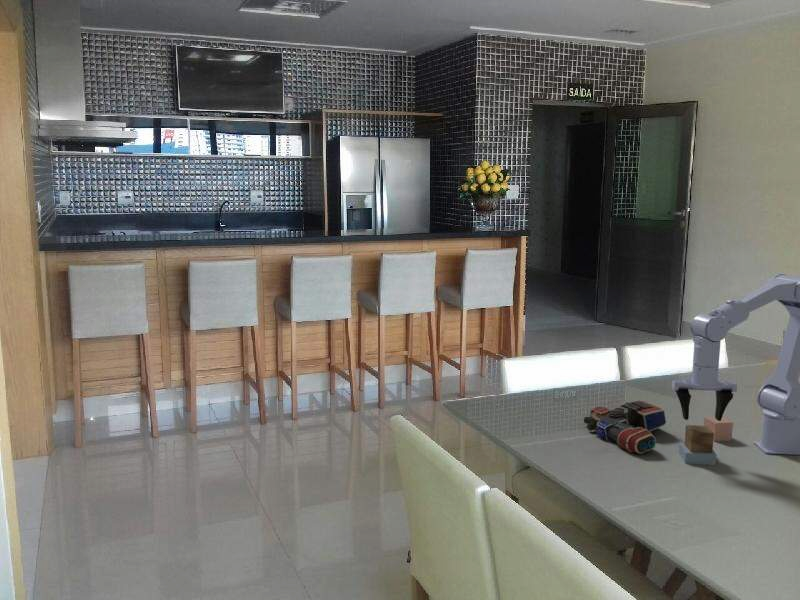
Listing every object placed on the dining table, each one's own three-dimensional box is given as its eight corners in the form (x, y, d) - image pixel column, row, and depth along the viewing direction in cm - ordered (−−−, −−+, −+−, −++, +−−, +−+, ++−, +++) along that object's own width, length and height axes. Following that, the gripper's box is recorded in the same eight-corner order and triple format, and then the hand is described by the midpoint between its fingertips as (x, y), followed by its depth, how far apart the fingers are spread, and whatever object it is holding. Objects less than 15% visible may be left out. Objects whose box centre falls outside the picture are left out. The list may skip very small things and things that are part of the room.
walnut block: (705, 445, 175) (707, 425, 174) (712, 452, 170) (714, 433, 169) (684, 444, 176) (686, 425, 175) (690, 452, 171) (692, 432, 170)
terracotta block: (720, 434, 191) (721, 416, 190) (731, 440, 186) (733, 422, 185) (702, 435, 190) (704, 417, 189) (714, 441, 185) (715, 423, 184)
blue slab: (708, 455, 176) (708, 444, 176) (715, 466, 169) (716, 454, 169) (678, 454, 177) (679, 442, 177) (684, 464, 171) (685, 452, 170)
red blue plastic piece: (630, 440, 173) (696, 412, 179) (573, 411, 196) (632, 388, 202) (636, 469, 174) (701, 441, 180) (578, 437, 198) (637, 414, 204)
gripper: (731, 361, 174) (726, 414, 176) (669, 359, 175) (666, 412, 177) (742, 368, 167) (737, 424, 169) (678, 366, 168) (674, 422, 170)
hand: (701, 419), depth 172 cm, fingers open, 7 cm apart
